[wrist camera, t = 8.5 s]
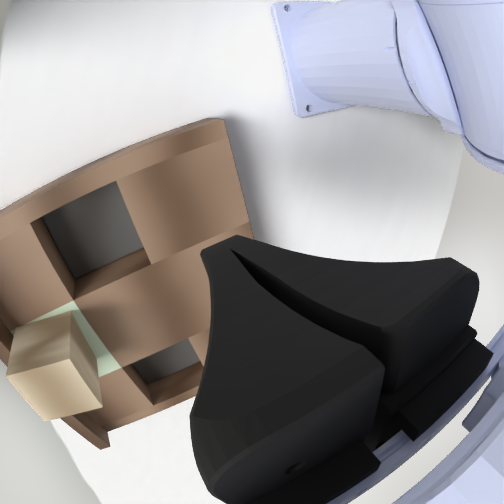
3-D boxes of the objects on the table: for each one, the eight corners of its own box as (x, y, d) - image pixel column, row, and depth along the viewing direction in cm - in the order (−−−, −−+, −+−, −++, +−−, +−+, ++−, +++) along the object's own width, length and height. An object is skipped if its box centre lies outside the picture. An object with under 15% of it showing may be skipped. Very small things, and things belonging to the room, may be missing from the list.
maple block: (70, 310, 15) (69, 358, 12) (96, 358, 17) (102, 407, 14) (15, 327, 14) (6, 376, 11) (45, 373, 16) (44, 421, 13)
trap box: (208, 117, 17) (235, 121, 14) (267, 334, 27) (291, 364, 23) (-40, 237, 13) (-65, 267, 9) (94, 412, 22) (100, 449, 19)
